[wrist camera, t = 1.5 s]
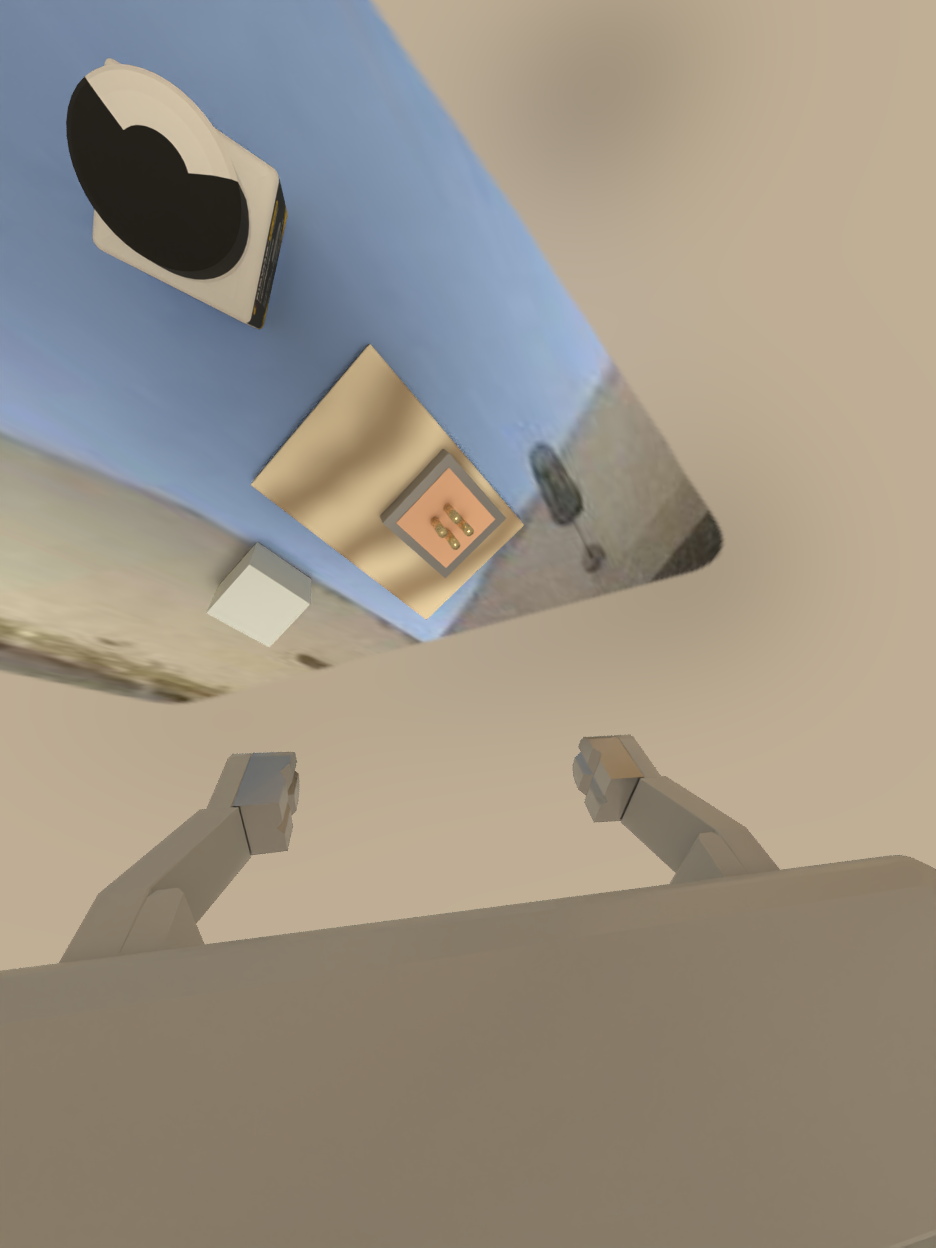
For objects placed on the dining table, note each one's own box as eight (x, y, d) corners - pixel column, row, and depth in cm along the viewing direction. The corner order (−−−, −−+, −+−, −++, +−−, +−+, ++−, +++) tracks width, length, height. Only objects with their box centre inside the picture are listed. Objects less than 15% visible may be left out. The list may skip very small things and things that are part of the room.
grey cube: (218, 585, 38) (206, 613, 34) (257, 541, 37) (249, 564, 33) (274, 618, 41) (269, 647, 37) (311, 579, 40) (310, 604, 36)
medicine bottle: (262, 331, 29) (234, 318, 20) (139, 269, 26) (33, 216, 16) (288, 210, 27) (270, 126, 17) (155, 124, 23) (39, -40, 14)
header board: (253, 480, 34) (240, 503, 29) (368, 344, 31) (378, 341, 26) (423, 612, 45) (437, 646, 40) (518, 520, 43) (546, 543, 37)
